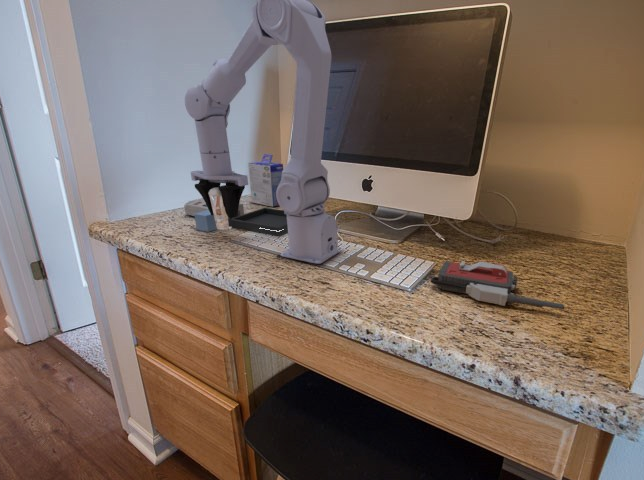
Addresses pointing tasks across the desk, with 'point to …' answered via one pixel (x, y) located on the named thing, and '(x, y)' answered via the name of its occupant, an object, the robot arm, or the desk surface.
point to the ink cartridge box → (265, 181)
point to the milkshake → (219, 210)
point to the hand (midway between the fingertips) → (224, 215)
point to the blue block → (205, 221)
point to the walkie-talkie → (484, 283)
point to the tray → (262, 221)
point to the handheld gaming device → (203, 207)
